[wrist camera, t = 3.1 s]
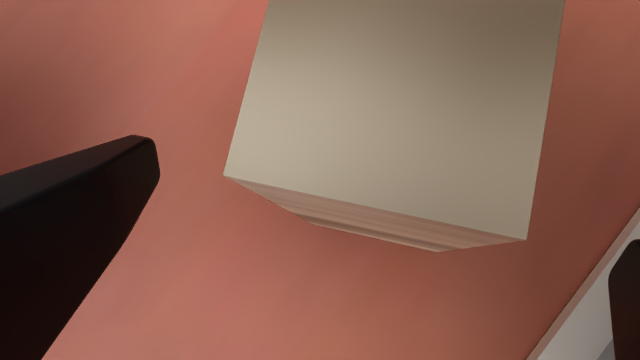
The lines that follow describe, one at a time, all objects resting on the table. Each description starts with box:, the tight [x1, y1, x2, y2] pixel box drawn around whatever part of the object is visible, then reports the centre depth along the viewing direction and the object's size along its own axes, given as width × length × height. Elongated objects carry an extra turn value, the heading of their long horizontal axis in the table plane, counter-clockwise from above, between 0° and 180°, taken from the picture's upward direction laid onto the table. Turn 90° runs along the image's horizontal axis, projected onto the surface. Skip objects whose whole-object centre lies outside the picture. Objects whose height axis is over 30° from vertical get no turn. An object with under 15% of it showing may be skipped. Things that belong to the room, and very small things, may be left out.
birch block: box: [223, 0, 565, 252], centre depth 13 cm, size 5×5×11 cm
